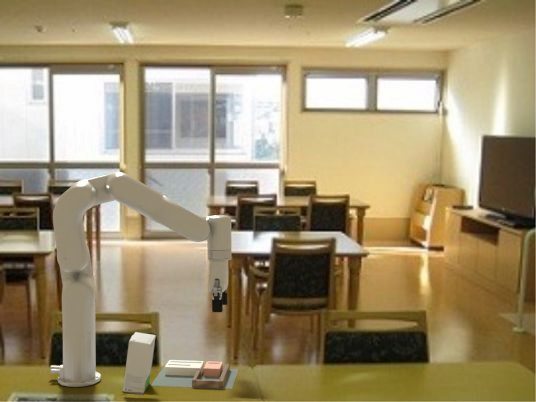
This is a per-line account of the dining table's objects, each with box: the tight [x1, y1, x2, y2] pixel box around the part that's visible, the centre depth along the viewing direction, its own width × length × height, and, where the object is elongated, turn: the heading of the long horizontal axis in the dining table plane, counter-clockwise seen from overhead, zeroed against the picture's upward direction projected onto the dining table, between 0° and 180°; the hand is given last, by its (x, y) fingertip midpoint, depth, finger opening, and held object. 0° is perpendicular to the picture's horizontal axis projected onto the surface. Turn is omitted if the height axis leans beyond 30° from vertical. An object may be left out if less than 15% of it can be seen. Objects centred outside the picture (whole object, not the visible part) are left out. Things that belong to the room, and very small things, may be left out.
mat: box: [150, 365, 240, 390], centre depth 212 cm, size 24×18×1 cm
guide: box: [191, 363, 231, 389], centre depth 211 cm, size 9×17×2 cm, turn 176°
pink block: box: [203, 360, 224, 377], centre depth 216 cm, size 5×7×3 cm
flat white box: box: [165, 359, 205, 376], centre depth 217 cm, size 11×7×3 cm, turn 86°
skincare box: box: [122, 331, 157, 396], centre depth 201 cm, size 8×7×16 cm
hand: (219, 308), depth 220 cm, fingers open, 9 cm apart
